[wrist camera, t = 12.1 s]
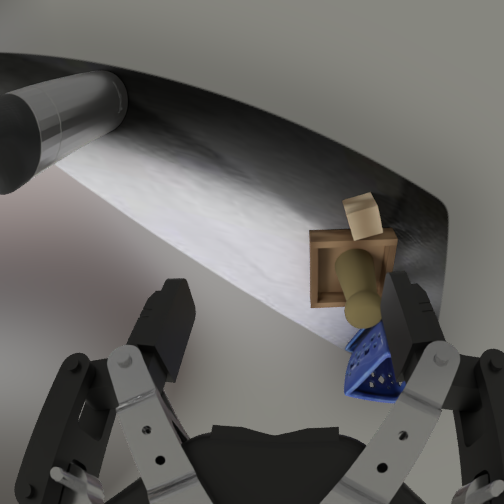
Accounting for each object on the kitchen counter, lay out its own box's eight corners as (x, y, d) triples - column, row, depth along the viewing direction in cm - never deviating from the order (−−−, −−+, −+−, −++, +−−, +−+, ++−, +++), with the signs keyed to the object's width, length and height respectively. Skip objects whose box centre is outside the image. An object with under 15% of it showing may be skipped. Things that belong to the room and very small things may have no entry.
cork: (378, 251, 43) (397, 304, 34) (367, 282, 46) (380, 336, 37) (339, 245, 43) (350, 299, 34) (330, 278, 46) (337, 334, 37)
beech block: (349, 225, 42) (354, 240, 38) (342, 200, 40) (346, 214, 36) (376, 217, 40) (383, 232, 37) (370, 192, 38) (377, 205, 35)
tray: (310, 294, 49) (310, 307, 47) (309, 230, 43) (310, 242, 40) (381, 291, 47) (385, 304, 45) (392, 227, 41) (397, 239, 38)
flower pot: (336, 344, 56) (340, 397, 46) (373, 296, 48) (387, 354, 39) (390, 356, 57) (399, 405, 47) (429, 314, 50) (447, 366, 40)
